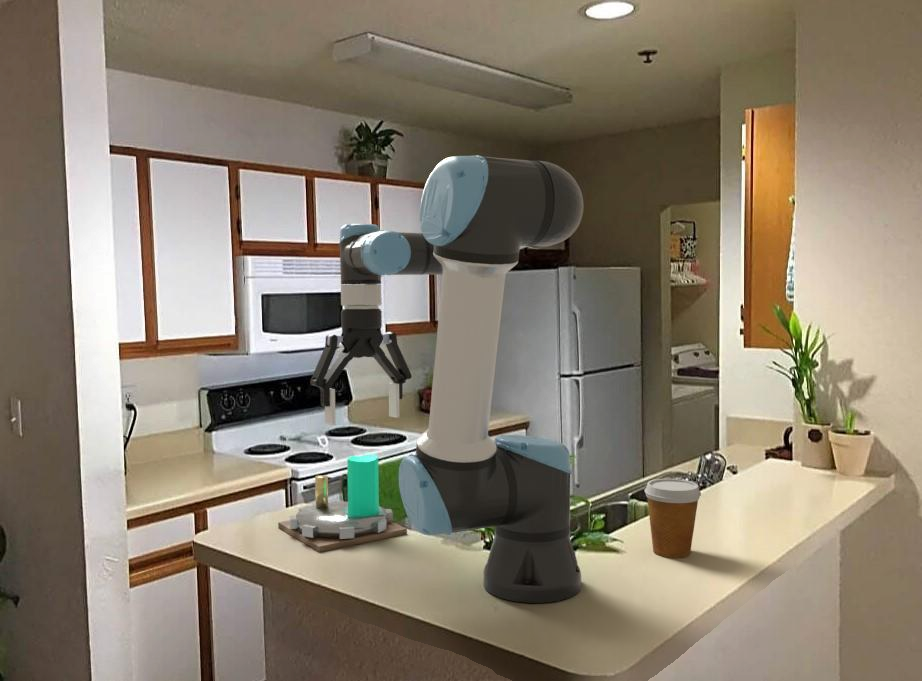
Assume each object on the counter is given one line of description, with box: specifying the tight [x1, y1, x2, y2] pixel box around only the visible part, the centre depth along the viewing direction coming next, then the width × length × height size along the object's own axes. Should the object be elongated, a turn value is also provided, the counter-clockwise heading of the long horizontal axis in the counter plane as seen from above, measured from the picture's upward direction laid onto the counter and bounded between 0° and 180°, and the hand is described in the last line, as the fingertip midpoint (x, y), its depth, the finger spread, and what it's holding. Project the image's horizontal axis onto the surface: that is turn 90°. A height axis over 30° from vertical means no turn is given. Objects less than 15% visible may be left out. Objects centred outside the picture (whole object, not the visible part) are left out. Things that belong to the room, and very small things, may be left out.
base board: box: [277, 519, 408, 553], centre depth 158 cm, size 18×18×1 cm
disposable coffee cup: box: [644, 478, 702, 559], centre depth 145 cm, size 10×10×12 cm
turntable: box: [289, 474, 394, 539], centre depth 158 cm, size 19×19×8 cm
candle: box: [346, 449, 380, 516], centre depth 158 cm, size 6×6×12 cm
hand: (363, 420), depth 157 cm, fingers open, 13 cm apart
